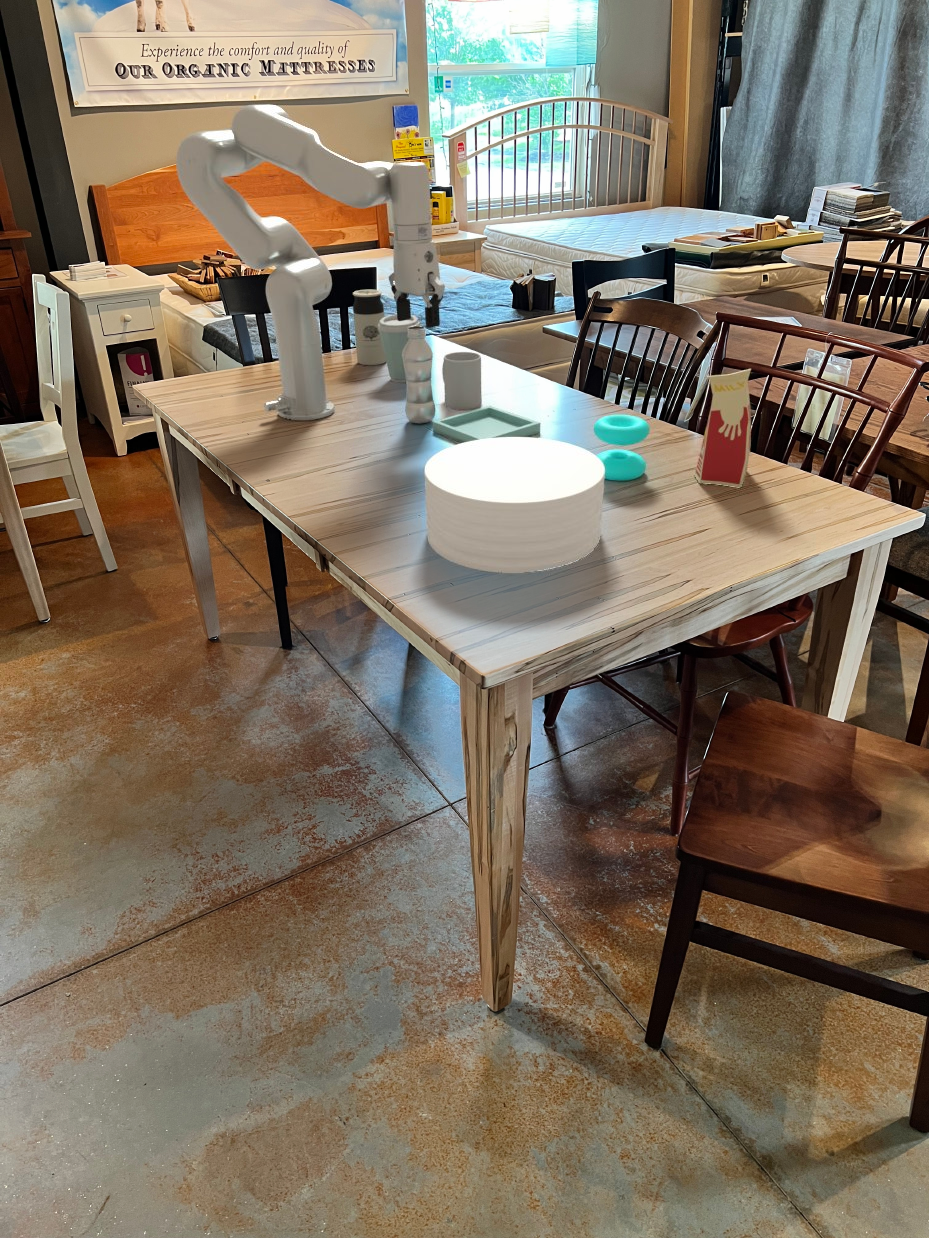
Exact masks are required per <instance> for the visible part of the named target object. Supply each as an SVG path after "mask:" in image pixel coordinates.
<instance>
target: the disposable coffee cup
mask: <svg viewBox="0 0 929 1238" xmlns="http://www.w3.org/2000/svg"><path fill="white" fill-rule="evenodd" d="M412 326H422V325H421V322H420V321H419V319H418V317H417V315H413V314H411V319H409V320H404V321H398V320H397V313H396V314H389V315H386V316H384V317H383V318H382V319H381V320H380V321H379V324H378V328H377V329H378V330H379V332H380V336H381V341H382V345H383V349H384V354H385V358H386V362H385V363H386V366H387V369H388V375H389V378H390V379H391V382H395V383H406V381H407V380H406V375H405V368H404V363H403V358H402V352H403V349H404V347H405V345H406V344H407V342H408V341H409V338H408V337H407V335H408V327H412Z"/></svg>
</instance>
